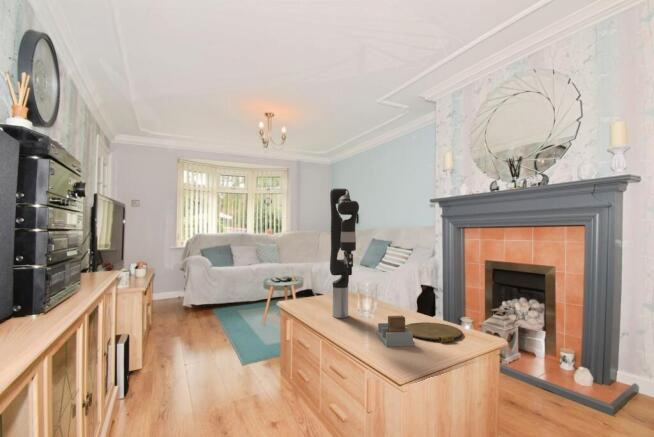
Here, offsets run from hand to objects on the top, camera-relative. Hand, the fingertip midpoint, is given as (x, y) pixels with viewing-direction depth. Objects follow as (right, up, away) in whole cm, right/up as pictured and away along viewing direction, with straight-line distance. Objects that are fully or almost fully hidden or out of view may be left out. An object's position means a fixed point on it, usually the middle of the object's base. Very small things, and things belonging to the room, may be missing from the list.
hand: (348, 273), depth 155 cm
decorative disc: (+42, -30, +2) cm, 52 cm away
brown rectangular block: (+21, -28, -12) cm, 37 cm away
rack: (+21, -29, -9) cm, 37 cm away
